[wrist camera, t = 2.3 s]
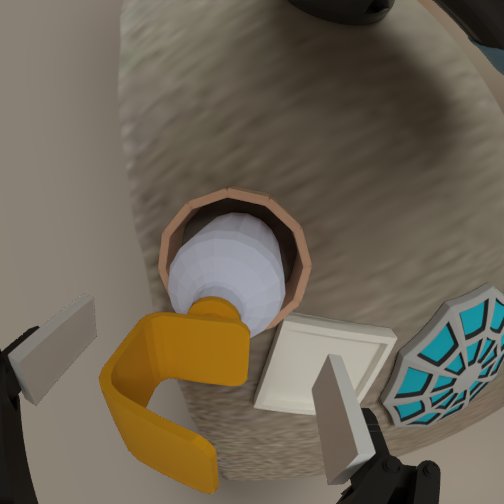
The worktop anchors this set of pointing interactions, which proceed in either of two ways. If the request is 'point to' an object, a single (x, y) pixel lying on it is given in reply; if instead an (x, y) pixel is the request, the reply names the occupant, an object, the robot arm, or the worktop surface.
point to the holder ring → (302, 264)
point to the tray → (318, 359)
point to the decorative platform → (448, 360)
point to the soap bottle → (196, 341)
